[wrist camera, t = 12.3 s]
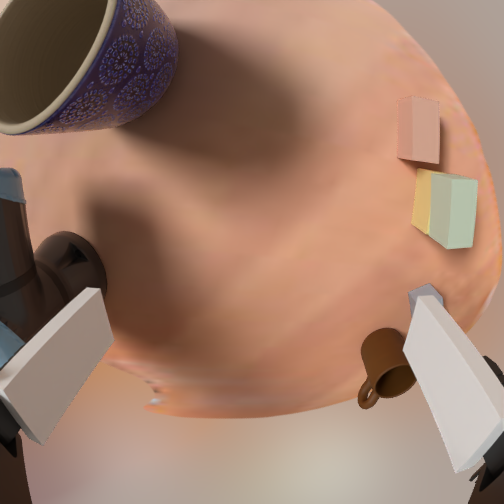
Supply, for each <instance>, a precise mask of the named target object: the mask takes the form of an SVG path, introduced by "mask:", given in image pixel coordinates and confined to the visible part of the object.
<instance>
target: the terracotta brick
mask: <svg viewBox="0 0 504 504" xmlns="http://www.w3.org/2000/svg"><path fill="white" fill-rule="evenodd" d="M397 122H398V138H397V158H402V159H408V160H414V161H422V162H429V163H436V164H439V150H440V111H439V101H435V100H430V99H426V98H421V97H416V96H409V97H406V98H402V99H399V100H397Z"/></svg>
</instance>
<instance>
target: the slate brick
mask: <svg viewBox="0 0 504 504" xmlns="http://www.w3.org/2000/svg"><path fill="white" fill-rule="evenodd" d="M408 295H409V302H410V309H411V317H413V313H414V310H415V306H416V302H417V298H418V296H427V295H433V296H434V297H435V298H436V299H437V300H438V301H439V303H440V304H441V305H442V306H443V297H442V296H441V295H440V294H439V293H438V292H437V291H436V290H435V289H434V288H433V286H432V285H431V284H430V283H428V284H426V285H424V286H421V287H419V288H417V289H414V290H412V291H409V292H408Z"/></svg>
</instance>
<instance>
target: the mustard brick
mask: <svg viewBox="0 0 504 504" xmlns="http://www.w3.org/2000/svg"><path fill="white" fill-rule="evenodd" d="M431 173H439V174H447V173H444V172H439V171H434V170H428V169H422V168H417V180H416V190H415V199H414V207H413V214H412V221H411V224H412V225H414V226H415V227H417V228H418V229H420V230H421V231H422V232H424V233H425V234H429V224H430V206H431Z"/></svg>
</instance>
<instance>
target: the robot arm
mask: <svg viewBox="0 0 504 504" xmlns="http://www.w3.org/2000/svg"><path fill="white" fill-rule="evenodd" d="M25 204H26V200H25V198H24V192H23V186H22V178H21V175H20V173H19V172H18V171H17V170H15V169H13V168H0V504H32V501H31V496H30V492H29V487H28V482H27V476H26V470H25V463H24V456H23V448H22V440H21V436H20V435H19V434H18V431H19V430H20V429H22V430H23V431H24V433H25V434H26V435H27V436H28V438H29V439H31V440H33V441H35V442H37V443H39V444H40V445H44V444H45V442H46V440H47V439H48V437H49V436H50V434H51V433H52V431H53V430H54V428H55V426H56V425H57V423H58V422H59V420H60V418H61V417H62V416H63V414H64V413H65V411H66V409H67V408H68V406H69V405H70V403H71V402H72V400H73V399H74V397H75V396H76V394H77V393H78V391H79V390H80V389H81V387H82V386H83V384H84V383H85V381H86V380H87V378H88V377H89V375H90V374H91V372H92V371H93V370H94V368H95V367H96V366H97V364H98V363H99V361H100V360H101V359H102V357H103V356H104V354H105V353H106V352H107V350H108V349H109V347H110V346H111V345H112V343H113V342H114V341H115V340H114V337H113V334H112V330H111V327H110V323H109V320H108V316H107V313H106V309H105V305H104V301H103V300H104V297H105V294H106V289H107V281H106V275H105V271H104V268H103V265H102V263H101V260H100V258H99V257H98V255H97V253H96V252H95V250H94V249H93V248H92V247H91V246H90V244H89V243H88V242H87V241H85V240H84V239H83V238H82V237H80V236H78V235H76V234H74V233H72V232H67V231H61V232H57V233H55V234H53V235H51V236H49V237H47V238H46V239H45V240H44V241H43V242H42V243H41V244H40V246H39V247H38V248H37V250H36V251H35V252H34V254H33V250H32V245H31V239H30V234H29V228H28V221H27V214H26V205H25ZM403 352H404V354H405V356H406V358H407V360H408V362H409V364H410V366H411V368H412V370H413V372H414V374H415V377H416V379H417V381H418V383H419V385H420V387H421V389H422V391H423V394H424V396H425V398H426V401H427V403H428V405H429V407H430V410H431V412H432V414H433V417H434V419H435V421H436V424H437V426H438V429H439V431H440V434H441V436H442V439H443V441H444V444H445V446H446V449H447V452H448V454H449V457H450V460H451V462H452V465H453V468H454V471H455V473H457V472H460V471H463V470H466V469H468V468H471V467H473V466H474V465H475V464H476V463H477V462H478V461H479V460H480V459H481V458H482V457H484V460H485V463H484V464H483V466H481V467H480V468H479V469H478V470H477V471H476V472H475V473H474V474H473V475H472V477H471V479H470V480H469V481H473V480H474V479H475V478H476V477H477V476H478V475H479V476H478V478H477V481H476V482H475V483H476V484H475V487H474V489H473V492H472V495H471V497H470V500H469V502H468V504H504V375H503V373H502V371H501V370H500V368H499V367H498V366H497V364H496V363H495V362H493V361H492V360H491V359H489V358H488V357H487V356H481V354H480V353H479V352H478V350H477V349H476V348H475V346H474V345H473V344H472V342H471V341H470V340H469V338H468V337H467V336H466V334H465V333H464V332H463V331H462V329H461V328H460V327H459V326H458V324H457V323H456V322H455V321H454V319H453V318H452V317H451V316H450V314H449V313H448V312H447V311H446V310H445V308H444V307H443V306H442V305H441V304H440V303H439V301H438V300H437V299H436V298H435V297H434V296H433V295H427V296H418V298H417V302H416V306H415V310H414V313H413V317H412V321H411V324H410V328H409V331H408V334H407V338H406V341H405V344H404V347H403Z"/></svg>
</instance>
